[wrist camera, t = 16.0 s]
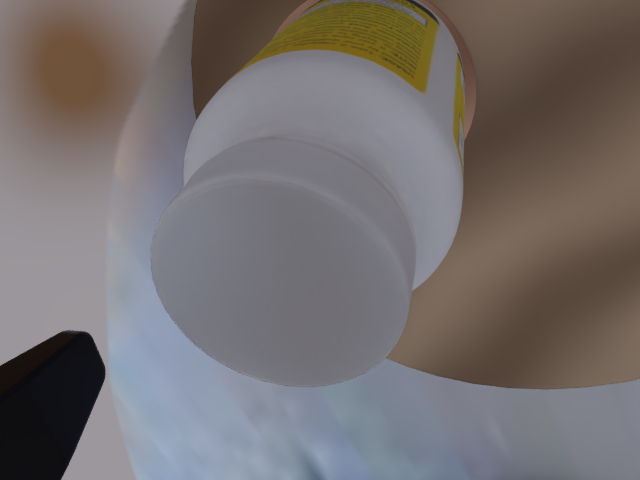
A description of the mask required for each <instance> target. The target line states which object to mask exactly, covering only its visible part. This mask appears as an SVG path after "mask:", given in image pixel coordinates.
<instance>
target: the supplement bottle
mask: <svg viewBox="0 0 640 480" xmlns="http://www.w3.org/2000/svg"><path fill="white" fill-rule="evenodd" d="M464 112H465V77H464V70H463V64H462V60H461V56H460V53H459V50H458V47H457V45H456V43H455V40H454V38H453V36H452V35H451V33H450V31H449V30H448V28H447V27H446V25H445V24H444V23H443V21H442V20H441V19H440V18H439V17H438V16H437V15H436V14H435V13H434V12H433V11H432V10H431V9H430V8H428V7H427V6H426V5H424V4H423V3H421V2H420V1H418V0H320V1H318V2H317V3H315V4H313V5H312V6H311V7H309V8H308V9H307V10H305V11H304V12H303V13H302V14H301V15H300V16H299V17H297V18H296V19H295V20H294V21H293V22H292V23H290V24H289V25H288V26H287V27H286V28H285V29H283V30H282V31H281V32H280V33H279V34H278V35H277V36H276V37H275V38H274V39H273V40H272V41H270V42H269V43H268V44H267V45H266V46H265V47H264V48H263V49H262V50H261V51H260V52H259V53H258V54H257V55H256V56H255V57H254V58H253V59H251V60H250V61H249V62H248V63H247V64H246V65H245V66H244V67H243V68H242V69H241V70H240V71H238V72H237V73H236V74H235V75H234V76H233V77H231V78H230V79H229V80H228V81H227V82H226V83H225V84H224V85H223V86H222V87H221V88H220V89H219V90H218V92H217V93H216V94H215V95H214V96H213V98H212V99H211V100H210V101H209V102H208V104H207V105H206V106H205V108H204V109H203V110H202V112H201V114H200V115H199V117H198V119H197V120H196V122H195V124H194V126H193V129H192V132H191V134H190V136H189V140H188V143H187V147H186V151H185V156H184V165H183V184H184V188H183V189H182V190H181V191H180V193H179V194H178V195H177V196H176V198H175V199H174V200H173V201H172V202H171V203H170V205H169V206H168V207H167V209H166V210H165V212H164V213H163V215H162V217H161V218H160V220H159V223H158V225H157V227H156V230H155V233H154V236H153V239H152V244H151V258H150V260H151V271H152V277H153V281H154V284H155V287H156V290H157V293H158V296H159V298H160V300H161V302H162V304H163V306H164V308H165V309H166V311H167V312H168V314H169V316H170V317H171V319H172V320H173V321H174V322H175V324H176V325H177V326H178V327H179V328H180V330H181V331H182V332H183V333H184V334H185V335H186V336H187V337H188V338H189V339H190V340H191V341H192V342H193V343H194V344H195V345H196V346H197V347H198V348H200V349H201V350H202V351H204V352H205V353H206V354H207V355H209V356H211V357H212V358H214V359H215V360H217V361H219V362H220V363H222V364H223V365H225V366H227V367H229V368H231V369H233V370H235V371H237V372H239V373H241V374H244V375H247V376H250V377H253V378H256V379H259V380H261V381H265V382H270V383H275V384H279V385H284V386H296V387H315V386H325V385H330V384H335V383H340V382H343V381H346V380H349V379H352V378H355V377H357V376H359V375H361V374H364V373H366V372H367V371H369V370H370V369H372V368H373V367H375V366H376V365H377V364H379V363H380V362H381V361H382V360H383V359H384V358H385V357H386V356H387V355H388V354H389V353H390V352H391V350H392V349H393V348H394V346H395V345H396V343H397V342H398V340H399V338H400V336H401V334H402V332H403V330H404V328H405V324H406V321H407V318H408V313H409V307H410V301H411V294H412V291H413V290H414V289H416V288H417V287H418V286H419V285H421V284H422V283H423V282H424V281H426V280H427V279H428V278H429V277H430V276H431V274H432V273H433V272H434V271H435V270H436V269H437V267H438V266H439V265H440V263H441V262H442V260H443V259H444V257H445V256H446V254H447V252H448V251H449V249H450V247H451V245H452V242H453V240H454V237H455V235H456V232H457V228H458V224H459V221H460V216H461V209H462V201H463V171H464V168H463V166H464V160H463V158H464Z"/></svg>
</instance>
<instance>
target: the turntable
mask: <svg viewBox="0 0 640 480" xmlns="http://www.w3.org/2000/svg"><path fill="white" fill-rule="evenodd" d="M318 1H320V0H198V1H197V6H196V11H195V16H194V31H193V45H192V60H191V64H192V82H193V100H194V108H195V114H196V119H198V117H199V115H200V114H201V112H202V110H203V109H204V108H205V106H206V105H207V104H208V102H209V101H210V100H211V99H212V98H213V96H214V95H215V94H216V93H217V92H218V90H219V89H220V88H221V87H222V86H223V85H224V84H225V83H226V82H227V81H228V80H229V79H230V78H231V77H233V76H234V75H235V74H236V73H237V72H238V71H240V70H241V69H242V68H243V67H244V66H245V65H246V64H247V63H248V62H249V61H250V60H251V59H253V58H254V57H255V56H256V55H257V54H258V53H259V52H260V51H261V50H262V49H263V48H264V47H265V46H266V45H267V44H268V43H269V42H270V41H272V40H273V39H274V38H275V37H276V36H277V35H278V34H279V33H280V32H281V31H282V30H283V29H285V28H286V27H287V26H288V25H289V24H290V23H292V22H293V21H294V20H295V19H296V18H297V17H299V16H300V15H301V14H302V13H303V12H304V11H305V10H307V9H308V8H309V7H311V6H312V5H313V4H315V3H317V2H318ZM418 1H420V2H421V3H423V4H424V5H426V6H427V7H428V8H430V9H431V10H432V11H433V12H434V13H435V14H436V15H437V16H438V17H439V18H440V19H441V20H442V21H443V23H444V24H445V25H446V27H447V28H448V30H449V31H450V33H451V35H452V36H453V38H454V40H455V43H456V45H457V47H458V50H459V53H460V56H461V60H462V64H463V70H464V77H465V112H464V158H463V160H464V166H463V168H464V171H463V201H462V209H461V216H460V221H459V224H458V228H457V232H456V235H455V237H454V240H453V242H452V245H451V247H450V249H449V251H448V252H447V254H446V256H445V257H444V259H443V260H442V262H441V263H440V265H439V266H438V267H437V269H436V270H435V271H434V272H433V273H432V274H431V276H430V277H429V278H428V279H427V280H426V281H424V282H423V283H422V284H421V285H419V286H418V287H417V288H416V289H414V290H413V291H412V294H411V301H410V307H409V313H408V318H407V321H406V324H405V328H404V330H403V332H402V334H401V336H400V338H399V340H398V342H397V343H396V345H395V346H394V348H393V349H392V350H391V352H390V353H389V354H388V355H387V356H386V357H385V358H388V359H390V360H392V361H395V362H397V363H400V364H402V365H404V366H407V367H411V368H414V369H417V370H420V371H423V372H427V373H430V374H433V375H436V376H440V377H445V378H449V379H454V380H459V381H463V382H468V383H473V384H481V385H489V386H497V387H505V388H524V389H563V388H582V387H592V386H599V385H606V384H614V383H621V382H627V381H632V380H636V379H640V0H418Z"/></svg>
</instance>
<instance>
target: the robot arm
mask: <svg viewBox="0 0 640 480" xmlns="http://www.w3.org/2000/svg"><path fill="white" fill-rule="evenodd" d="M104 379H105V366H104V363H103V361H102V358H101V356H100V354H99V351H98V350H97V347H96V344H95V343H94V340H93V338H92V336H91V335H90V334H89V333H87V332H84V331H70V330H68V331H62V332H60V333H58V334H57V335H55V336H53V337H51V338H49V339H47V340H46V341H44V342H42V343H40V344H38V345H37V346H35V347H33V348H32V349H29V350H28V351H26V352H24V353H22V354H20V355H19V356H17V357H15V358H13V359H11V360H10V361H8V362H6V363H4V364H3V365H1V366H0V480H61V479H62V477H63V475H64V472H65V471H66V469H67V467H68V465H69V462H70V460H71V458H72V456H73V454H74V452H75V449H76V447H77V444H78V442H79V440H80V437H81V435H82V432H83V430H84V428H85V425H86V423H87V421H88V418H89V416H90V414H91V411H92V409H93V406H94V404H95V402H96V399H97V397H98V394H99V392H100V390H101V387H102V385H103V382H104Z"/></svg>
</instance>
